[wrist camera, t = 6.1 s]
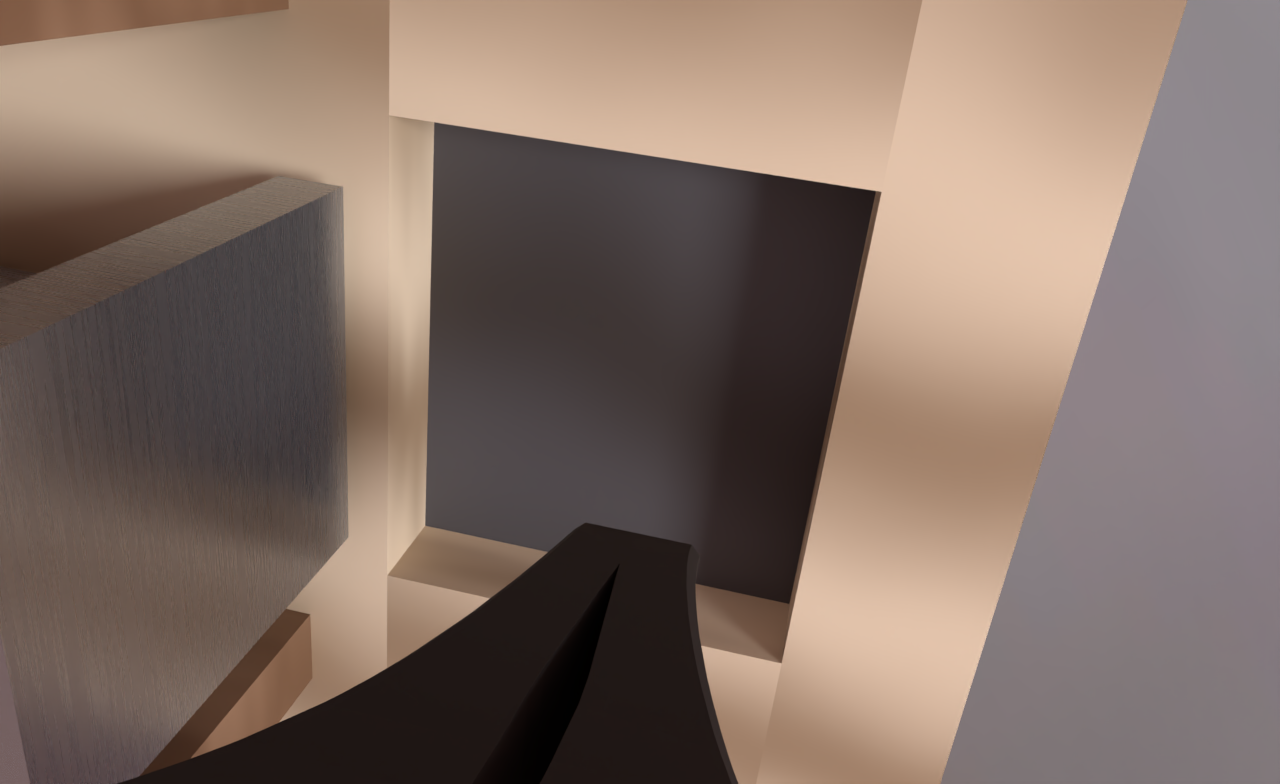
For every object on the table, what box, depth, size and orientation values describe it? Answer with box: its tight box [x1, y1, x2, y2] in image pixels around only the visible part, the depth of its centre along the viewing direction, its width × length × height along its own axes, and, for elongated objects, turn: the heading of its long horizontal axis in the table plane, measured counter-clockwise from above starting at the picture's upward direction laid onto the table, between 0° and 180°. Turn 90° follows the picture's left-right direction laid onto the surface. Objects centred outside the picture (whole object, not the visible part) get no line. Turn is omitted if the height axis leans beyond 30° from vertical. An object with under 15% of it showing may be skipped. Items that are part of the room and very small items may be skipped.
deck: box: [0, 0, 1187, 784], centre depth 18 cm, size 18×27×2 cm, turn 84°
